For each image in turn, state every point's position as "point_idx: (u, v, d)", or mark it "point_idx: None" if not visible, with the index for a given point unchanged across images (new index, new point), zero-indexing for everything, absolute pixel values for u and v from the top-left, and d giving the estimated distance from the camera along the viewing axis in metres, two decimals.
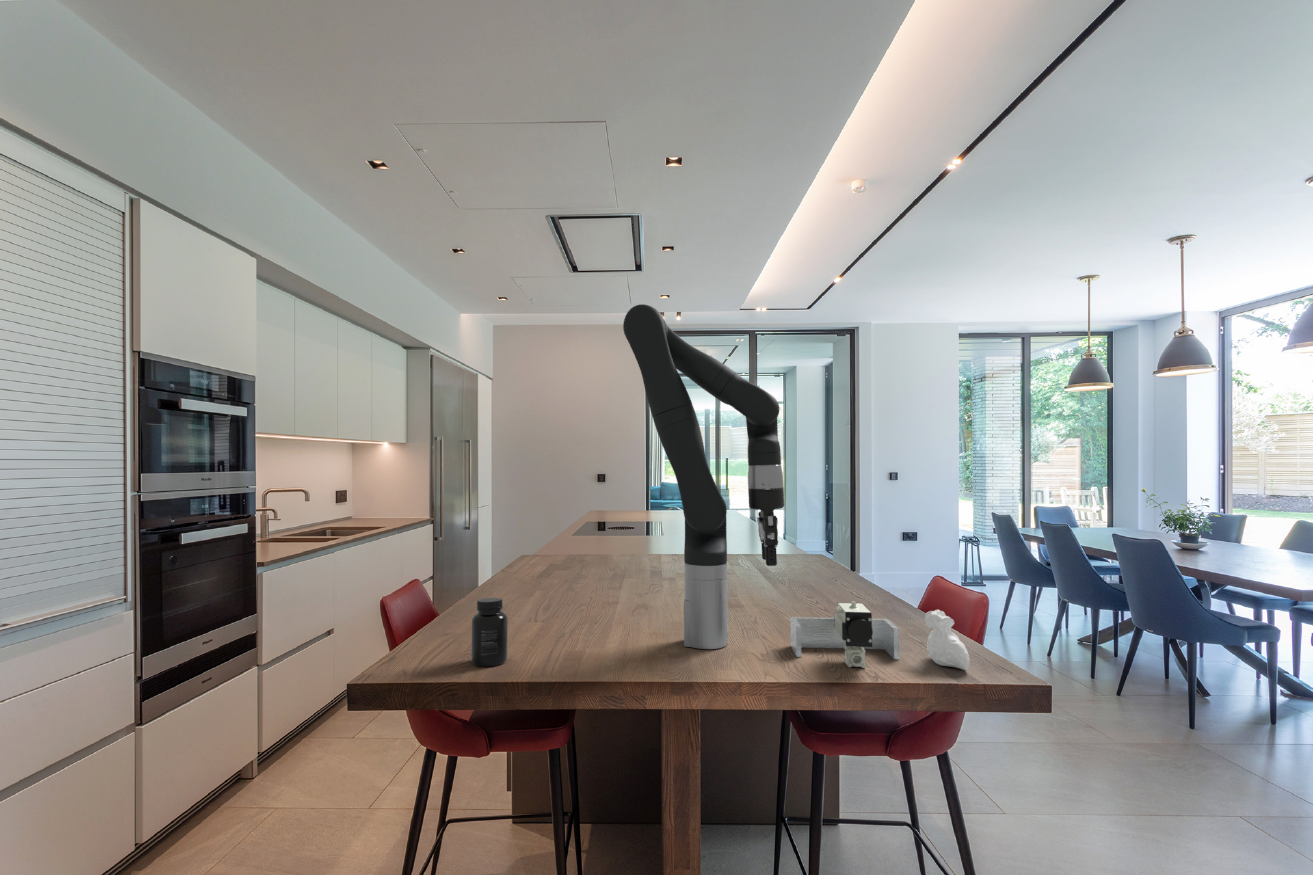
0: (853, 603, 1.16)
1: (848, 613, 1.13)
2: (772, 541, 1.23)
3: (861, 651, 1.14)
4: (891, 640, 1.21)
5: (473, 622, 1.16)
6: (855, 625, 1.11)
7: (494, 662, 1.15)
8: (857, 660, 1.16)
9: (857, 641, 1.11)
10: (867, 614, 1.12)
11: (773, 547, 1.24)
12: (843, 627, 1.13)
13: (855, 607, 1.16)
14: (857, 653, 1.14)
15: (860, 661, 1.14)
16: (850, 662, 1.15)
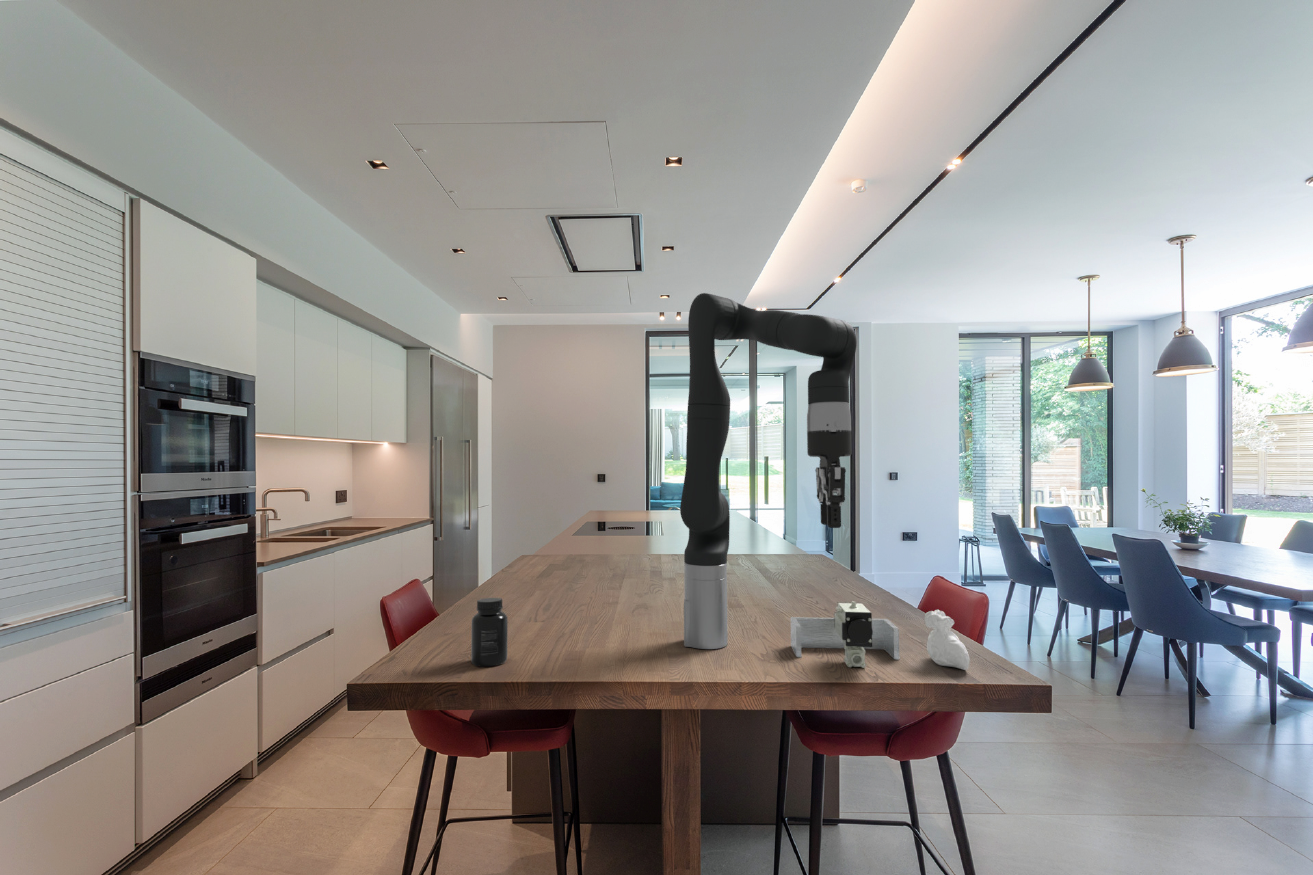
0: (853, 603, 1.16)
1: (848, 613, 1.13)
2: (838, 498, 1.01)
3: (861, 651, 1.14)
4: (891, 640, 1.21)
5: (473, 622, 1.16)
6: (855, 625, 1.11)
7: (494, 662, 1.15)
8: (857, 660, 1.16)
9: (857, 641, 1.11)
10: (867, 614, 1.12)
11: (837, 506, 1.03)
12: (843, 627, 1.13)
13: (855, 607, 1.16)
14: (857, 653, 1.14)
15: (860, 661, 1.14)
16: (850, 662, 1.15)
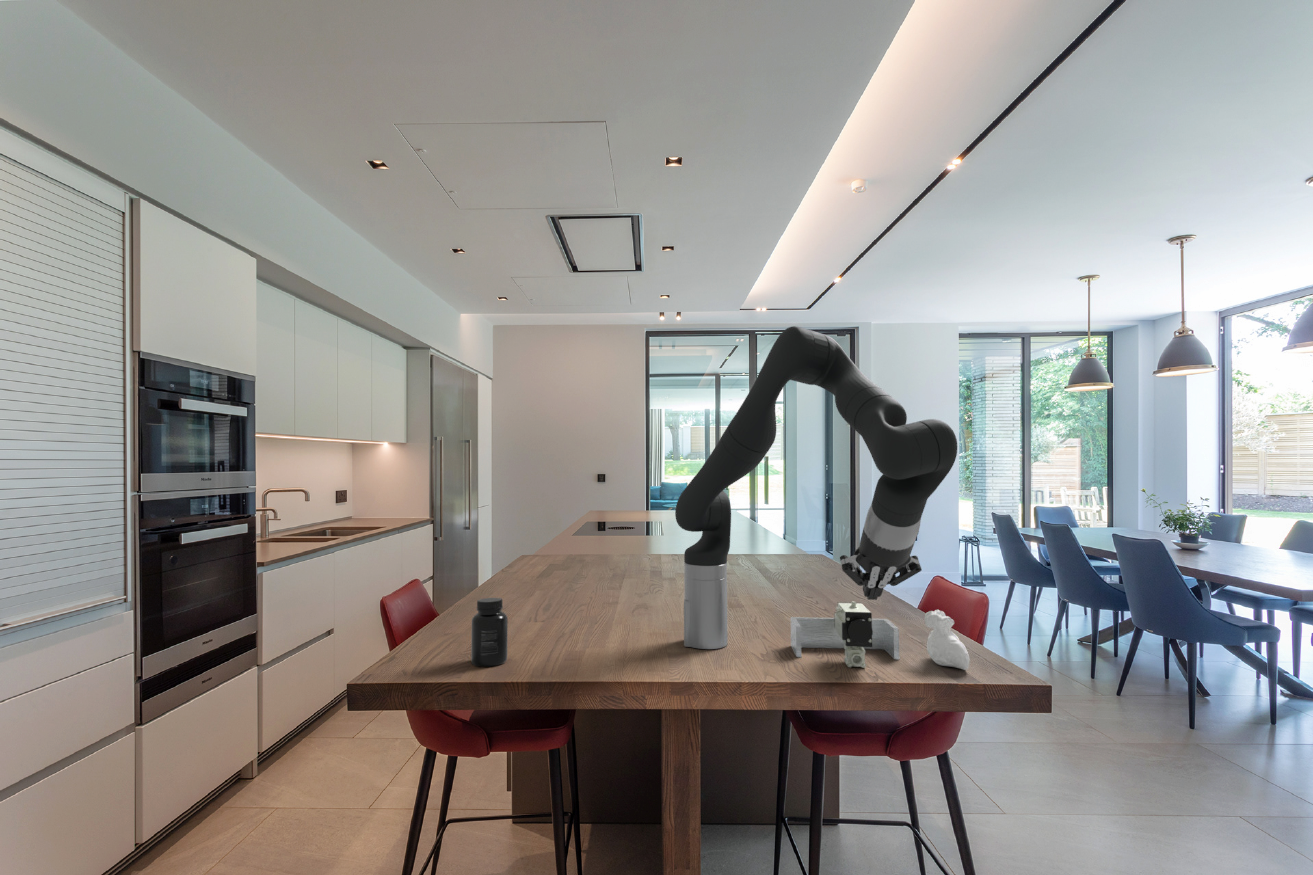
0: (853, 603, 1.16)
1: (848, 613, 1.13)
2: None
3: (861, 651, 1.14)
4: (891, 640, 1.21)
5: (473, 622, 1.16)
6: (855, 625, 1.11)
7: (494, 662, 1.15)
8: (857, 660, 1.16)
9: (857, 641, 1.11)
10: (867, 614, 1.12)
11: None
12: (843, 627, 1.13)
13: (855, 607, 1.16)
14: (857, 653, 1.14)
15: (860, 661, 1.14)
16: (850, 662, 1.15)
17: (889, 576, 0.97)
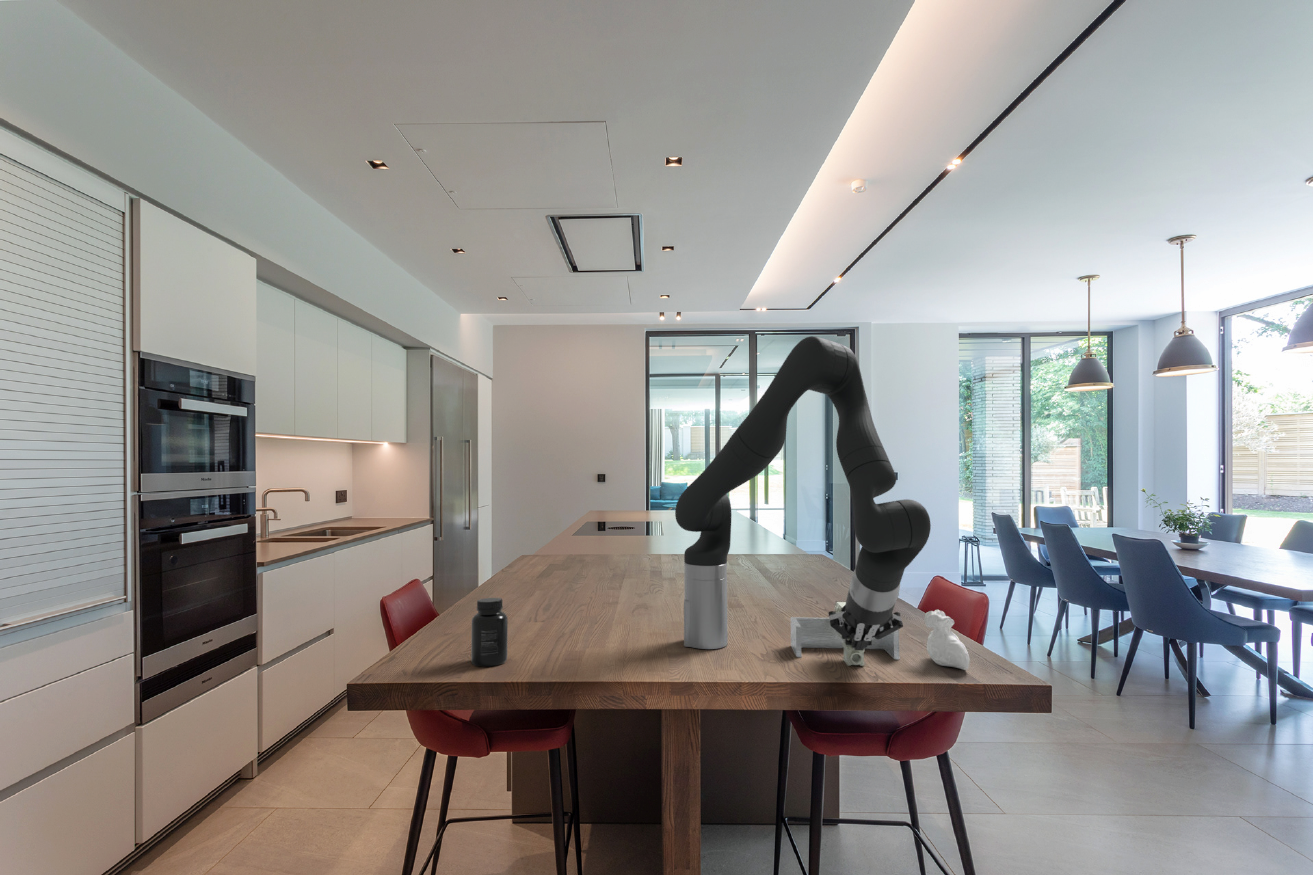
0: None
1: None
2: None
3: None
4: (891, 640, 1.21)
5: (473, 622, 1.16)
6: None
7: (494, 662, 1.15)
8: (856, 658, 1.17)
9: None
10: None
11: None
12: None
13: None
14: (856, 651, 1.15)
15: (859, 659, 1.15)
16: (849, 660, 1.16)
17: (873, 631, 1.06)
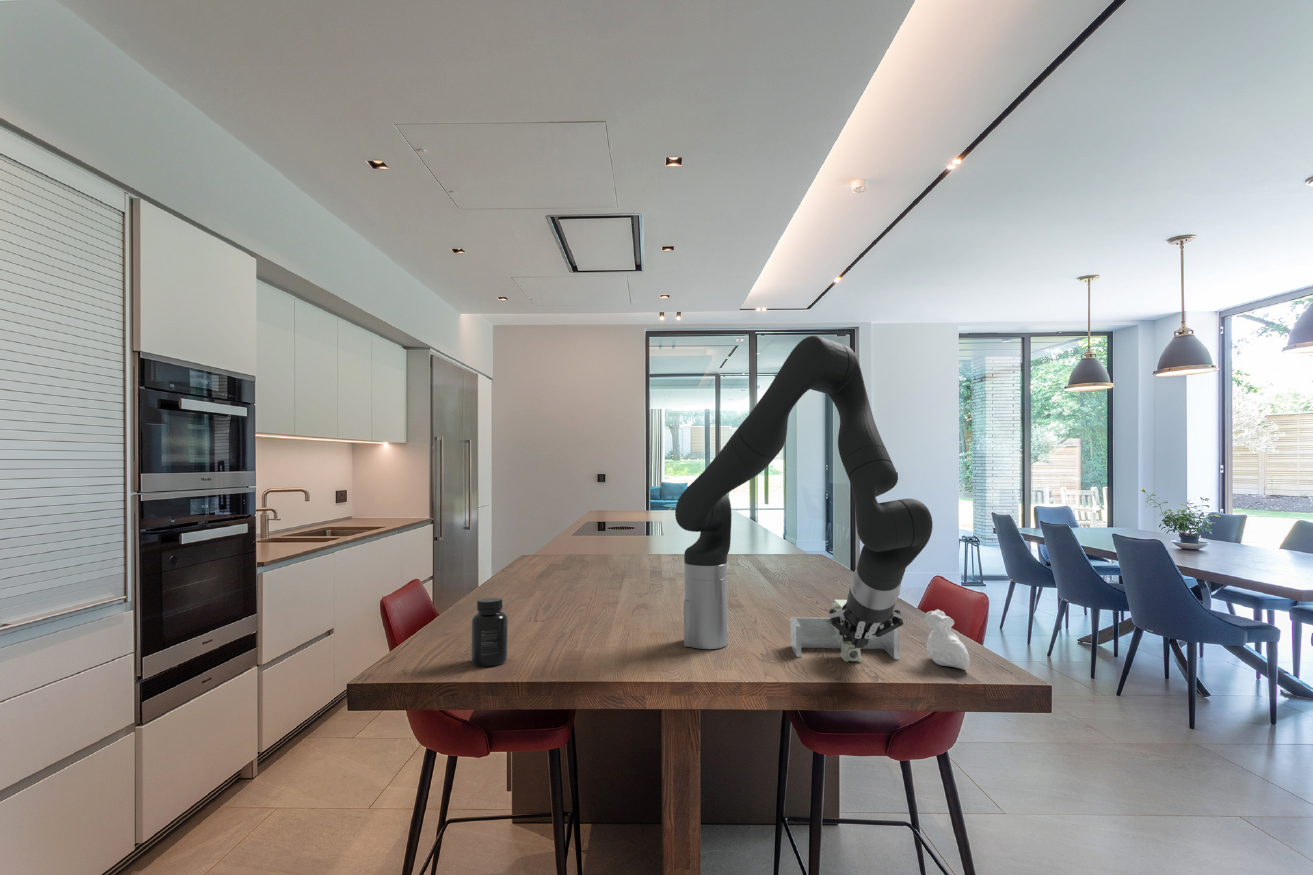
0: None
1: None
2: None
3: None
4: (891, 640, 1.21)
5: (473, 622, 1.16)
6: None
7: (494, 662, 1.15)
8: (853, 655, 1.19)
9: None
10: None
11: None
12: None
13: None
14: (853, 648, 1.18)
15: (856, 656, 1.18)
16: (846, 657, 1.18)
17: (874, 629, 1.06)
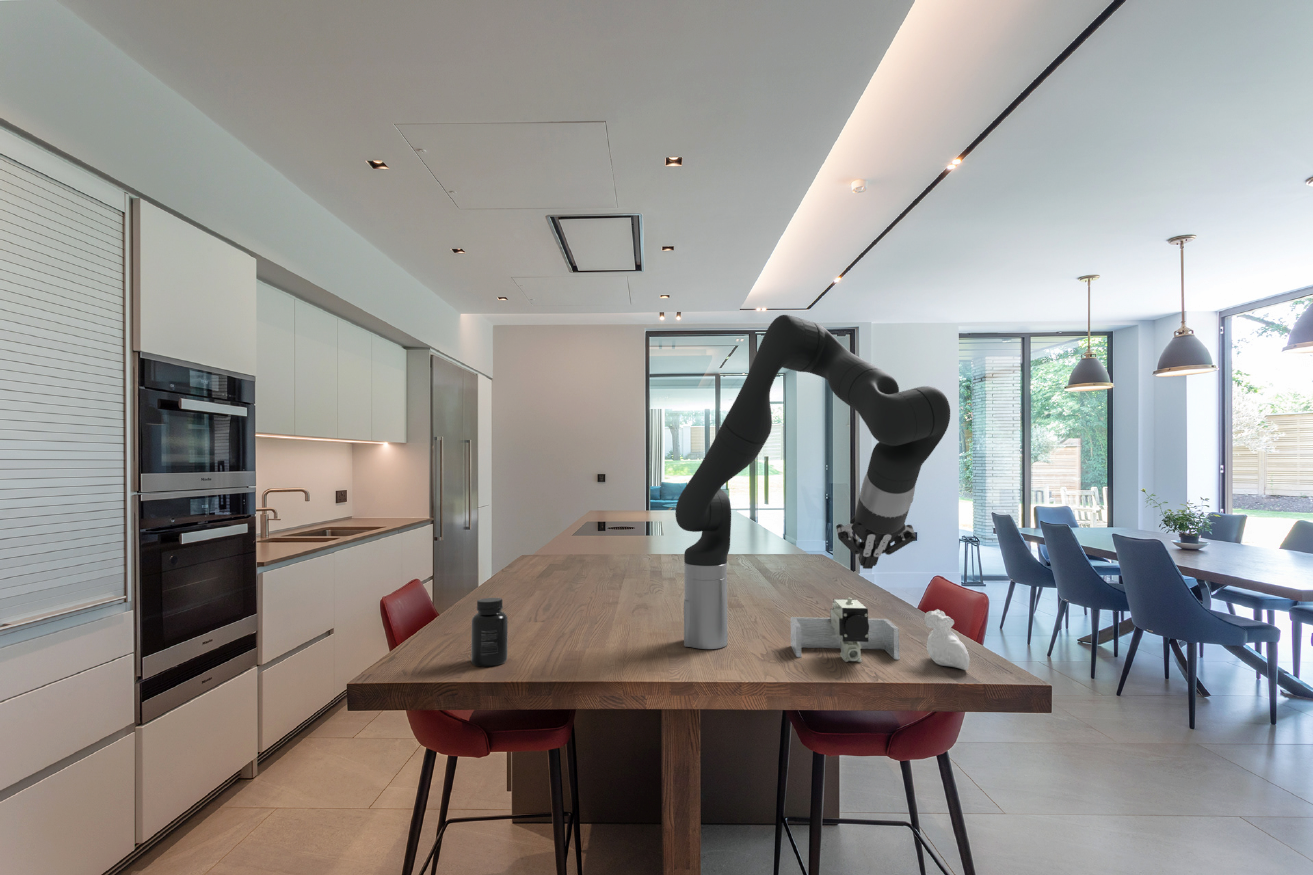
0: (849, 599, 1.20)
1: (845, 609, 1.16)
2: None
3: (857, 646, 1.18)
4: (891, 640, 1.21)
5: (473, 622, 1.16)
6: (852, 621, 1.14)
7: (494, 662, 1.15)
8: (853, 655, 1.19)
9: (854, 636, 1.14)
10: (863, 610, 1.16)
11: None
12: (840, 623, 1.16)
13: (851, 603, 1.19)
14: (853, 648, 1.18)
15: (856, 656, 1.18)
16: (846, 657, 1.18)
17: (884, 544, 0.99)
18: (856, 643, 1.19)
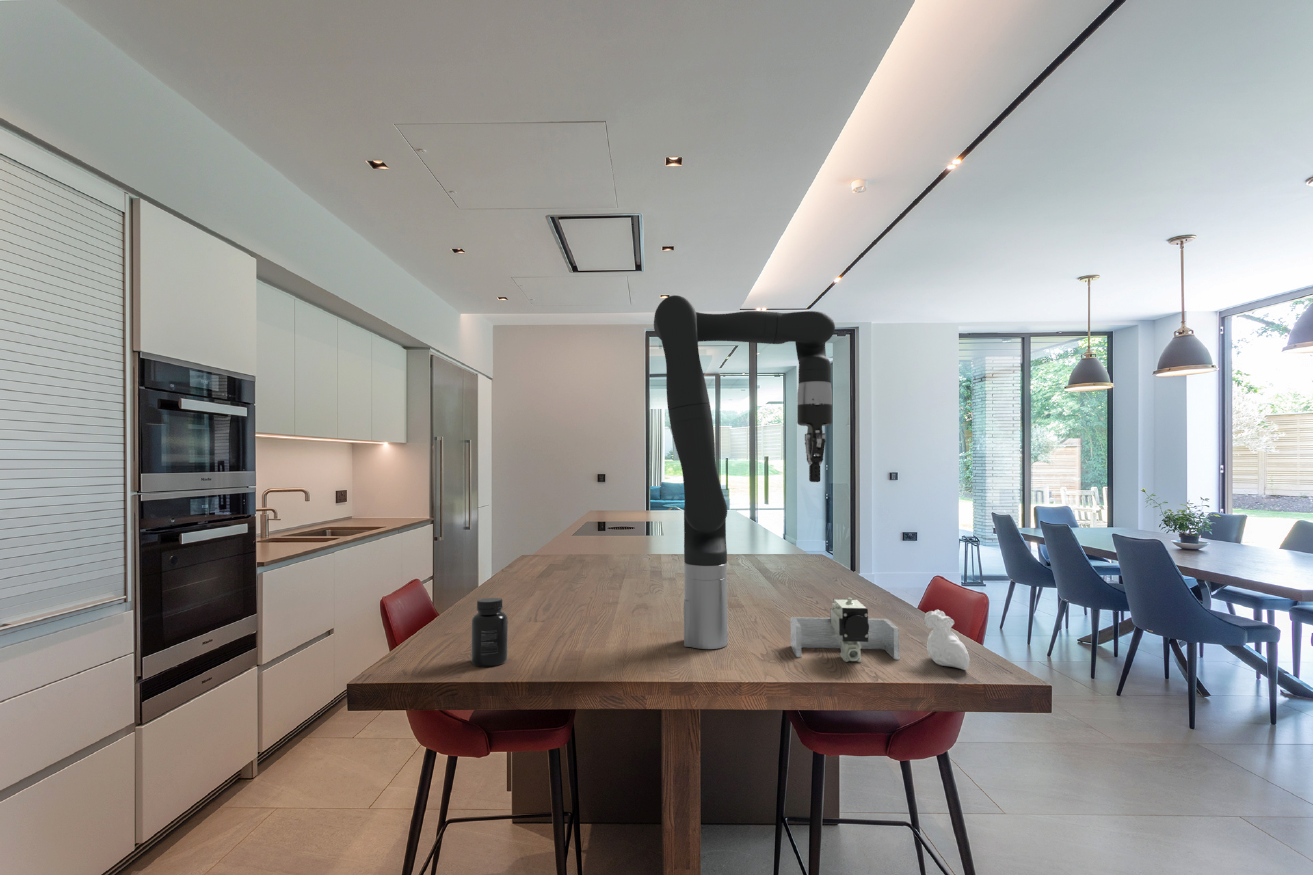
0: (849, 599, 1.20)
1: (845, 609, 1.16)
2: (817, 459, 1.31)
3: (857, 646, 1.18)
4: (891, 640, 1.21)
5: (473, 622, 1.16)
6: (852, 621, 1.14)
7: (494, 662, 1.15)
8: (853, 655, 1.19)
9: (854, 636, 1.14)
10: (863, 610, 1.16)
11: None
12: (840, 623, 1.16)
13: (851, 603, 1.19)
14: (853, 648, 1.18)
15: (856, 656, 1.18)
16: (846, 657, 1.18)
17: None
18: (856, 643, 1.19)
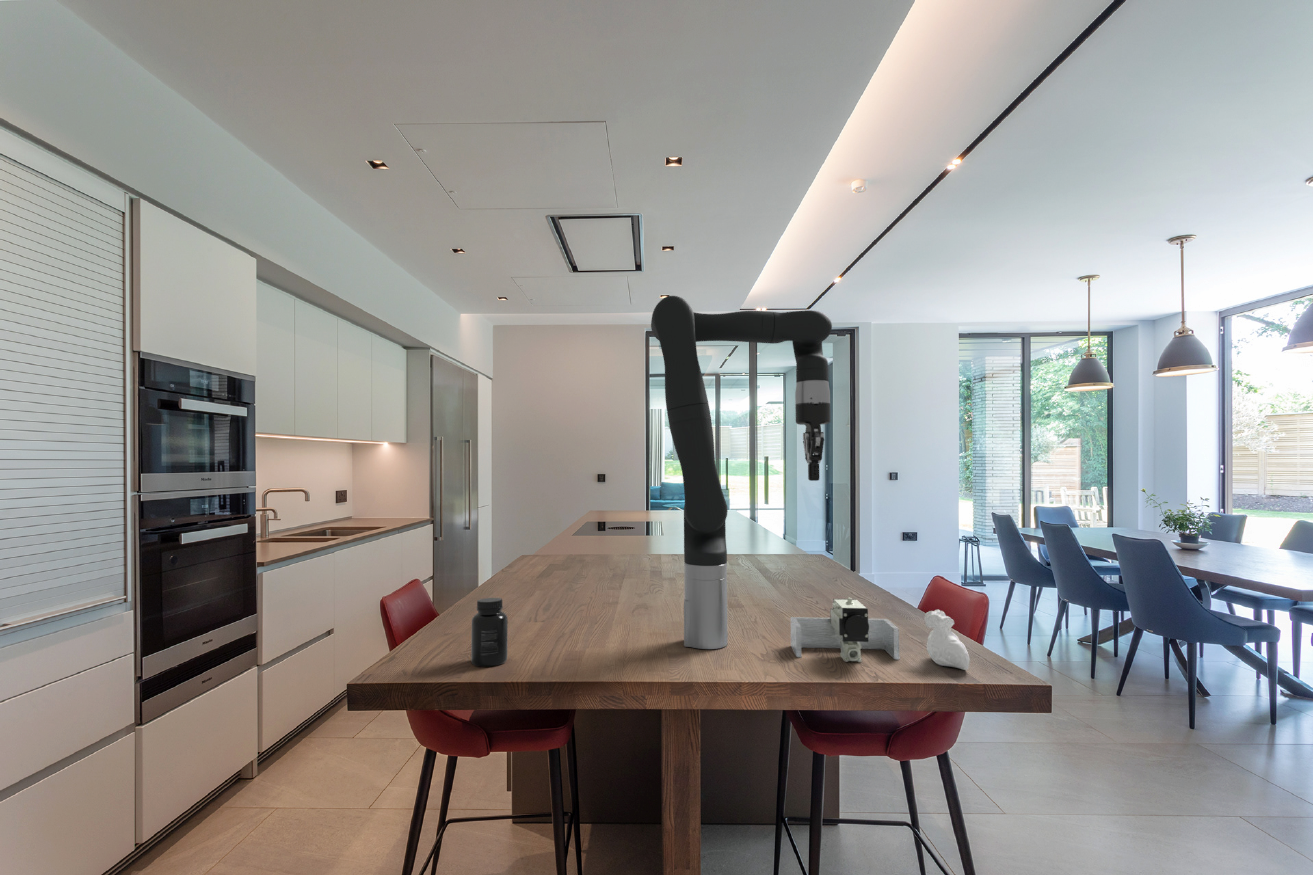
0: (849, 599, 1.20)
1: (845, 609, 1.16)
2: (816, 458, 1.32)
3: (857, 646, 1.18)
4: (891, 640, 1.21)
5: (473, 622, 1.16)
6: (852, 621, 1.14)
7: (494, 662, 1.15)
8: (853, 655, 1.19)
9: (854, 636, 1.14)
10: (863, 610, 1.16)
11: None
12: (840, 623, 1.16)
13: (851, 603, 1.19)
14: (853, 648, 1.18)
15: (856, 656, 1.18)
16: (846, 657, 1.18)
17: None
18: (856, 643, 1.19)
